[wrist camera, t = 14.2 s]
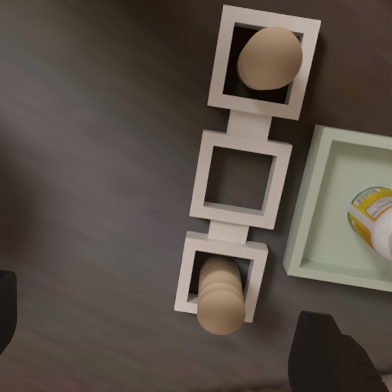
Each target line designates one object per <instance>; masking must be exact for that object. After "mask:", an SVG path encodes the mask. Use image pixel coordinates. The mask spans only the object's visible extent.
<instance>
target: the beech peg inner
mask: <svg viewBox="0 0 392 392" xmlns="http://www.w3.org/2000/svg"><path fill="white" fill-rule="evenodd" d="M302 59H303V53H302V48H301V45H300V42H299V40H298V39H297V37H296V36H295V35H294V34H293V33H292V32H290V31H289V30H287V29H285V28H282V27H267V28H264V29H262V30H260V31H258V32H257V33H256V34H255V35H253V36H252V38H251V39H250V40H249V41H248V43H247V44H246V46H245V47H244V49H243V50H242V51H241V53H240V55H239V57H238V59H237V64H236V70H237V74H238V77H239V79H240V81H241V82H242V83H243V84H244V85H245V86H246V87H248V88H250V89H253V90H269V89H278V88H281V87H283V86H286V85H287V84H289V83H290V82H291V81H292V80H293V79H294V78H295V77H296V75H297V74H298V72H299V70H300V68H301V65H302Z"/></svg>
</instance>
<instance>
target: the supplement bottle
mask: <svg viewBox="0 0 392 392" xmlns="http://www.w3.org/2000/svg"><path fill="white" fill-rule="evenodd" d="M347 219H348V222H349V224H350V226H351V227H352V228H353V229H354V230H355V231H356V232H357V233H358V234H359V235H360V236H361V237H362V238H363V239H364V240H365V241H366V242H367V243H368V244H369V245H370V246H371V247H372V248H373V249H374V250H375V251H376V252H377V253H378V254H379V255H380V256H381V257H382V258H383V259H385V260H387V261H389V262H392V190H391V189H389V188H386V187H382V186H370V187H367V188H364V189H362V190H360V191H359V192H357V193H356V194H355V195H354V196H353V197H352V198H351V200H350V202H349V204H348V207H347Z"/></svg>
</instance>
